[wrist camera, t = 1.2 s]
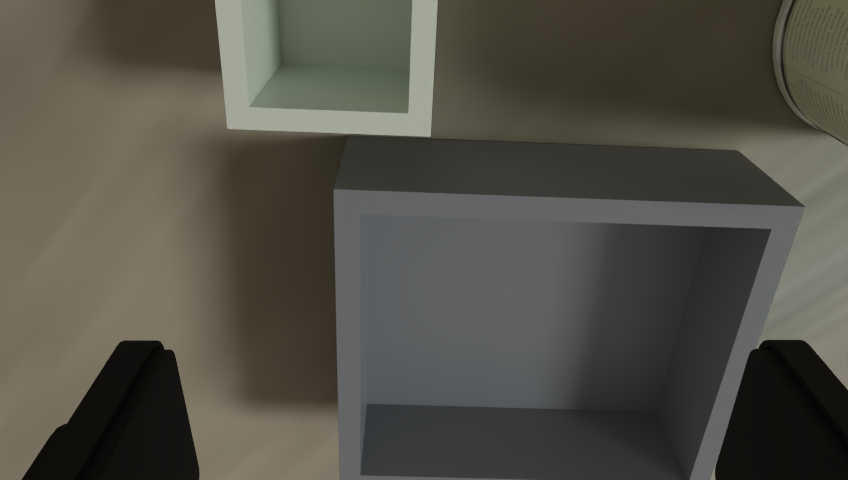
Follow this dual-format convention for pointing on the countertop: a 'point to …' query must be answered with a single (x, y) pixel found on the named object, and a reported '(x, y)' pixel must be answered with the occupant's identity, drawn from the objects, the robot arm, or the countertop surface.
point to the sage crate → (328, 65)
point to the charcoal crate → (547, 306)
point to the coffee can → (814, 62)
